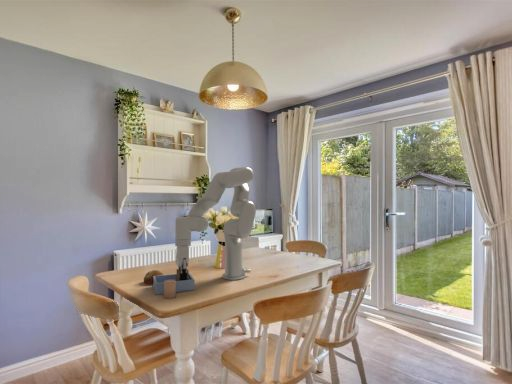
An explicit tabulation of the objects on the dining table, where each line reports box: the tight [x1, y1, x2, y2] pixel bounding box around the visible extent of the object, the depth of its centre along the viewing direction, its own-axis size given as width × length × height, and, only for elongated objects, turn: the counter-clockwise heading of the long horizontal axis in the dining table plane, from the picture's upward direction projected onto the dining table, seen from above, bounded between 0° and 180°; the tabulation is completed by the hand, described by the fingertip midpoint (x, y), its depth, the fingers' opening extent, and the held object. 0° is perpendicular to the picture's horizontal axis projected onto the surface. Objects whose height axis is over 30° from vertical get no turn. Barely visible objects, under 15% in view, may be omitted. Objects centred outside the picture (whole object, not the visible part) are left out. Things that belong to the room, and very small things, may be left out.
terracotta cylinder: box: [163, 280, 177, 300], centre depth 134 cm, size 5×5×7 cm
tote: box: [152, 272, 196, 296], centre depth 146 cm, size 18×14×5 cm
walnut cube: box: [175, 268, 190, 281], centre depth 148 cm, size 5×5×5 cm
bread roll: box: [143, 269, 164, 286], centre depth 156 cm, size 10×10×8 cm
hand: (182, 279), depth 148 cm, fingers closed on walnut cube, 5 cm apart
